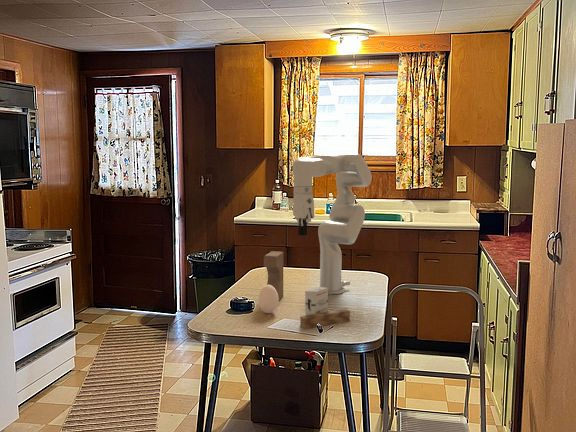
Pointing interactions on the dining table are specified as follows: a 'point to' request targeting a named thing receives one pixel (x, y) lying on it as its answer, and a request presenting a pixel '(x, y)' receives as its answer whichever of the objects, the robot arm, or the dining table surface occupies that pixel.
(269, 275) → the decorative block
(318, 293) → the ink box
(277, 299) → the egg
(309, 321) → the board
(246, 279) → the dining table surface
